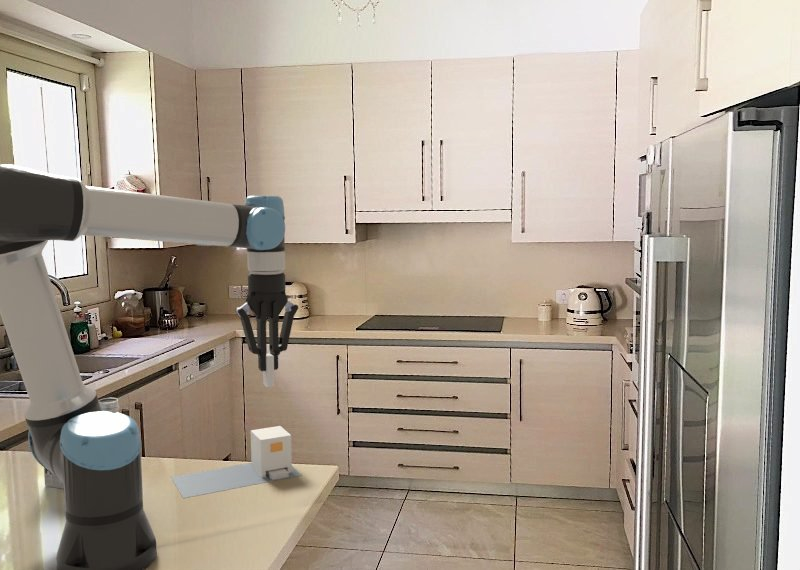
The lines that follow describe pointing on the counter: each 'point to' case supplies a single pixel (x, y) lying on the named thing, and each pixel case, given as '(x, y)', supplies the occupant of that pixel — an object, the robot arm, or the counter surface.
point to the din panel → (226, 479)
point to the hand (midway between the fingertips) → (268, 385)
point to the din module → (270, 450)
